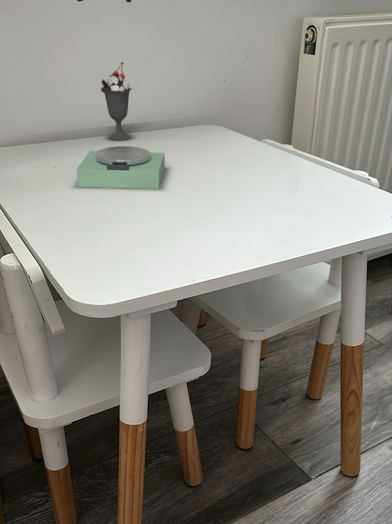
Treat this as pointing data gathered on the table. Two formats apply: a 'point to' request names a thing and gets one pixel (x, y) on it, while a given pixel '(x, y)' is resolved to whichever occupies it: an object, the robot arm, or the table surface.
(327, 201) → the table surface
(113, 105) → the sundae
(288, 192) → the table surface
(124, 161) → the scale pan
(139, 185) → the scale
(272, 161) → the table surface
